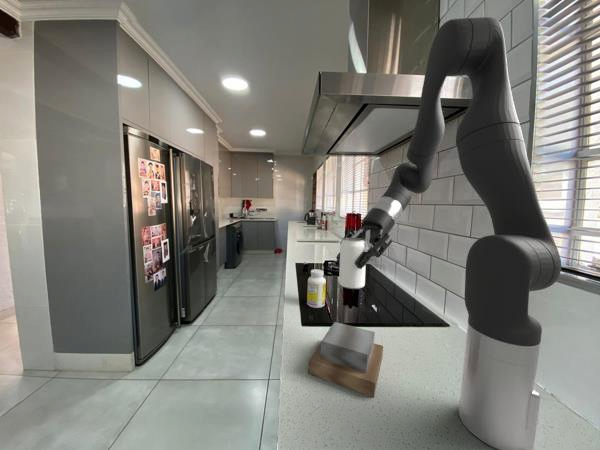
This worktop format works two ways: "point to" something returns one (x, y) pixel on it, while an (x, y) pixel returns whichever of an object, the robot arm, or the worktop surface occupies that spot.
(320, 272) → the supplement bottle
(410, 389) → the worktop surface
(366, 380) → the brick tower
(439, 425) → the worktop surface
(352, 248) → the can
